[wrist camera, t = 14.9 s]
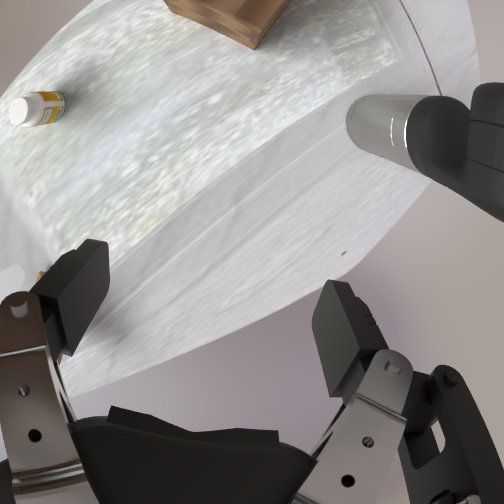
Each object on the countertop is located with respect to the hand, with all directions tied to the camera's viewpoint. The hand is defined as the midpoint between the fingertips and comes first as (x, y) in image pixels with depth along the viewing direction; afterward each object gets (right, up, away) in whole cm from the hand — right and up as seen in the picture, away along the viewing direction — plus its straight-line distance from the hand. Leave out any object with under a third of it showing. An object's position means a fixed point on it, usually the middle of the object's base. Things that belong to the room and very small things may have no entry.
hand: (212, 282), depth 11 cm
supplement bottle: (-31, +24, +25) cm, 47 cm away
